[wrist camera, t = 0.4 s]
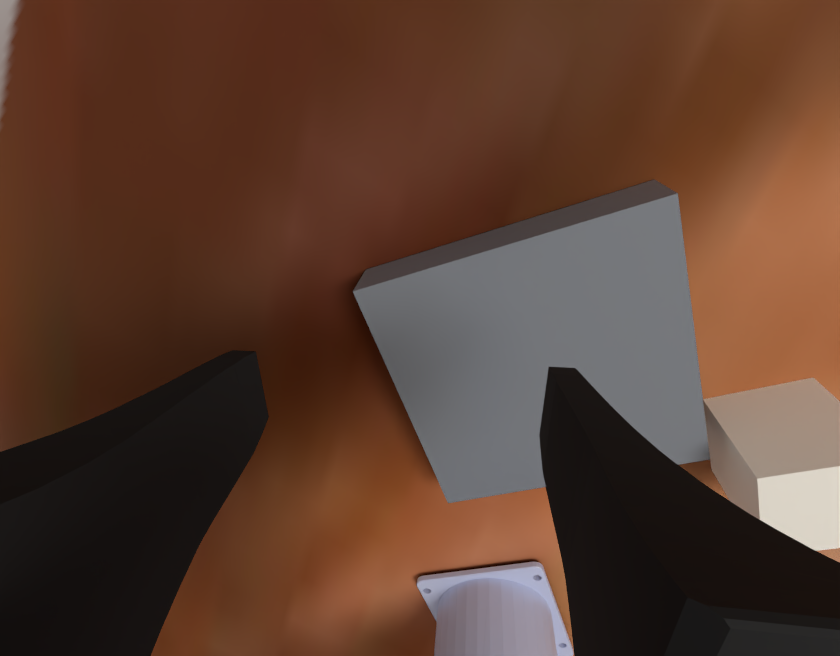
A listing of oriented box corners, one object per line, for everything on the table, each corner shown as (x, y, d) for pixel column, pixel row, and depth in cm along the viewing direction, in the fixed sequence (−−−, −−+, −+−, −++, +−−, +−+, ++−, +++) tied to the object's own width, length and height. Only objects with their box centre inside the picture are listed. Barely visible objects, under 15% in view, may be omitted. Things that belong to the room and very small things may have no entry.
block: (812, 452, 23) (891, 541, 18) (711, 468, 24) (762, 556, 20) (812, 376, 21) (900, 456, 17) (702, 398, 22) (757, 478, 18)
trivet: (688, 424, 23) (710, 459, 21) (450, 468, 26) (448, 503, 24) (654, 179, 18) (678, 193, 16) (365, 269, 21) (352, 291, 19)
